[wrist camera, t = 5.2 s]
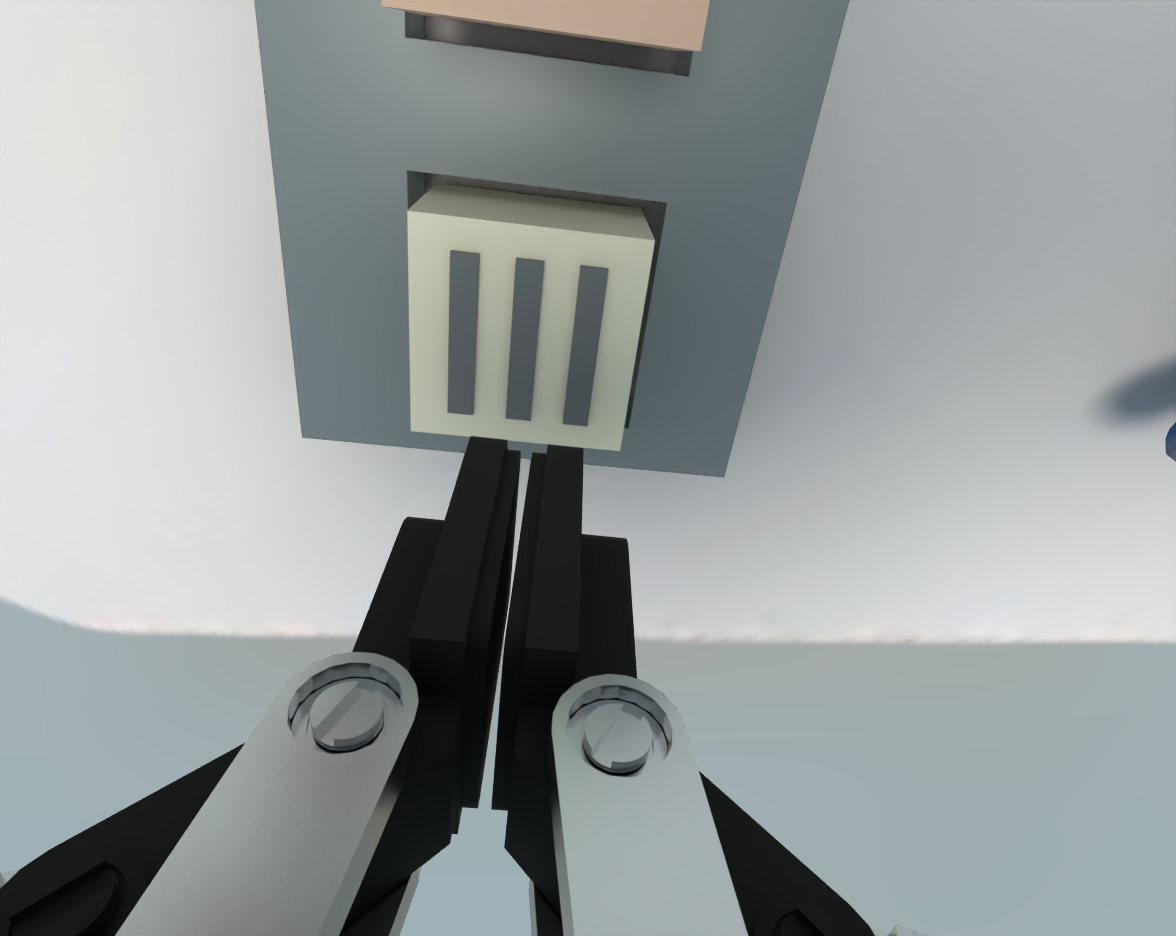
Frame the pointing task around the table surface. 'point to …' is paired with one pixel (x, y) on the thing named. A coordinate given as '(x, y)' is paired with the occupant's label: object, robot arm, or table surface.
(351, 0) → the board
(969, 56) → the table surface
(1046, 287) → the table surface
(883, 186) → the table surface
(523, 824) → the robot arm
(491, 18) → the tile two
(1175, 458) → the starfish
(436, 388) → the tile three
